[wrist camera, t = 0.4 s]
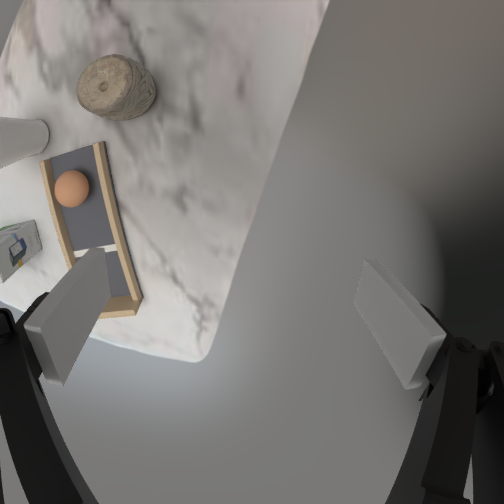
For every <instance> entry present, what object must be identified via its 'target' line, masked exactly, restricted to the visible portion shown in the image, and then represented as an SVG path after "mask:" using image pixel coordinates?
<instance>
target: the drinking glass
mask: <svg viewBox="0 0 504 504" xmlns="http://www.w3.org/2000/svg"><path fill="white" fill-rule="evenodd" d="M48 139H49V131H48V127H47V125H46V124H45V123H44V122H43V121H41V120H38V119H19V118H7V117H0V169H1V168H3V167H6V166H8V165H10V164H12V163H15V162H17V161H19V160H22V159H24V158H27V157H29V156H32V155H36V154H39V153H40V152H42V151H43V150H44V148H45V147H46V145H47V143H48Z"/></svg>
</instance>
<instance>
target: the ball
mask: <svg viewBox="0 0 504 504" xmlns="http://www.w3.org/2000/svg"><path fill="white" fill-rule="evenodd" d="M54 191H55V196H56V199H57V200H58V202H59V203H60V204H61V205H63V206H65V207H70V208H72V207H76V206H79V205H80V204H82V203H83V202H84V201H85V199H86V198H87V195H88V192H89V183H88V180H87V178H86V177H85V175H84V174H82V173H81V172H79V171H76V170H70V171H66V172H64V173H63V174H62V175H60V177H59V178H58V179H57V181H56V184H55V190H54Z"/></svg>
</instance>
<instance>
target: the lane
mask: <svg viewBox="0 0 504 504" xmlns="http://www.w3.org/2000/svg"><path fill="white" fill-rule="evenodd" d="M40 167H41V172H42V177H43V182H44V186H45V191H46V195H47V199H48V203H49V207H50V211H51V215H52V218H53V222H54V225H55V229H56V232H57V236H58V239H59V242H60V245H61V248H62V252H63V255H64V258H65V261H66V263H67V266H68V269H69V270H70V269H71V268H72V267H73V266H74V265H75V264H76V263H77V261H78V260H79V259H80V258H81V257H82V256H83V255H84V254H85V253H86V252H87V251H88V250H89V249H90V248H91V247H98V248H105V257H106V266H107V273H108V280H109V287H110V294H111V297H110V298H109V300H108V302H107V304H106V305H105V307H104V309H103V311H102V312H101V314H100V316H99V318H98V319H102V318H114V317H125V316H135V315H136V314H137V311H138V309H139V306H140V304H141V302H142V299H143V295H142V292H141V289H140V285H139V282H138V279H137V276H136V272H135V269H134V266H133V262H132V259H131V255H130V252H129V248H128V244H127V241H126V237H125V233H124V229H123V225H122V221H121V217H120V213H119V209H118V205H117V200H116V196H115V191H114V187H113V182H112V177H111V172H110V167H109V162H108V157H107V151H106V145H105V142H99V143H95V144H93V145H91V146H87V147H84V148H81V149H78V150H75V151H72V152H69V153H66V154H63V155H60V156H57V157H54V158H51V159H48V160H44V161H41V162H40ZM70 170H76V171H79V172H81V173H82V174H84V175H85V177H86V178H87V180H88V183H89V192H88V195H87V198H86V199H85V201H84V202H83V203H82V204H80V205H79V206H76V207H72V208H70V207H65V206H63V205H61V204H60V203H59V202H58V200H57V199H56V196H55V191H54V190H55V184H56V181H57V179H58V178H59V177H60V175H62V174H63V173H64V172H66V171H70Z"/></svg>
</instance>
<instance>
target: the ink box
mask: <svg viewBox="0 0 504 504" xmlns="http://www.w3.org/2000/svg"><path fill="white" fill-rule="evenodd" d="M41 248H42V247H41V243H40V239H39V236H38V233H37V229H36V225H35V222H34V220H32V221H28V222H24V223H20V224H16V225H12V226H7V227H3V228H1V229H0V283H4V282H5V281H6V280H7V279H8V278H9V277H10V276H11V275H12V274H14V273H15V272H16V271H17V270H18V269H19V268H20V267H21V266H22V265H23V264H25V263H26V262H27V261H28V260H29V259H30V258H31V257H32V256H34V255H35V254H36V253H37V252H38V251H39V250H40V249H41Z"/></svg>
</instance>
